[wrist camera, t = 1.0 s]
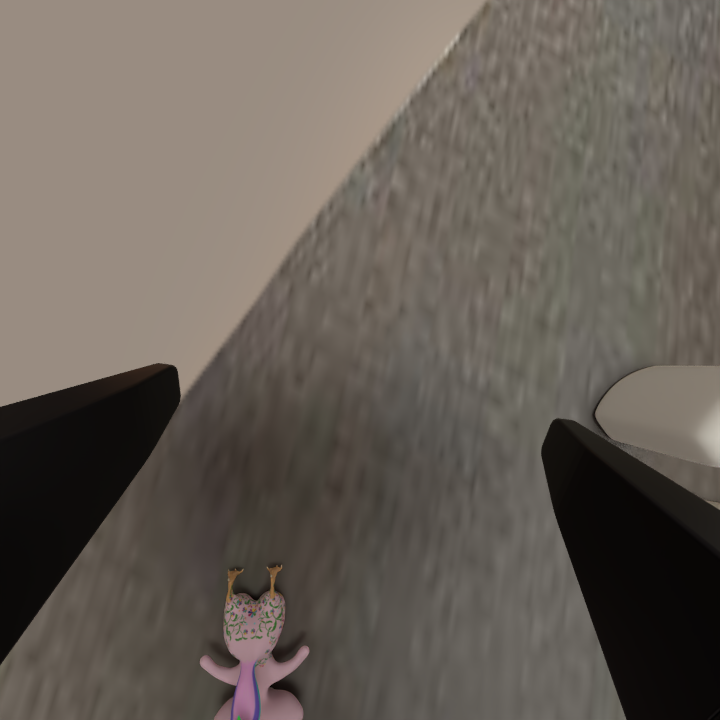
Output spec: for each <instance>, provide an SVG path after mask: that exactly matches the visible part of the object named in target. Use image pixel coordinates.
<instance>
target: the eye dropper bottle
mask: <svg viewBox="0 0 720 720" xmlns="http://www.w3.org/2000/svg"><path fill="white" fill-rule="evenodd" d="M595 417H596V419H597V421H598V423H599V424H600V425H601V427H602V428H603V430H604V431H605V432H606V434H607V435H608V436H609V437H610V438H611V439H613V440H615V441H618V442H622V443H625V444H629V445H632V446H636V447H640V448H643V449H647V450H651V451H654V452H658V453H661V454H665V455H669V456H673V457H676V458H680V459H684V460H687V461H691V462H695V463H699V464H703V465H707V466H713V467H720V366H652V367H648V368H644V369H641V370H638V371H636V372H634V373H632V374H630V375H628V376H626V377H624V378H623V379H621V380H620V381H619V382H617V383H616V384H615V385H614V386H613V387H612V388H611V389H610V390H609V391H608V392H607V393H606V395H605V396H604V397H603V399H602V400H601V402H600V403H599V405H598V407H597V409H596V412H595Z"/></svg>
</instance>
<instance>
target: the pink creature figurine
mask: <svg viewBox="0 0 720 720" xmlns="http://www.w3.org/2000/svg"><path fill="white" fill-rule="evenodd" d="M243 569H244V568H243ZM243 569H242V570H241V571H240V572H239V571H236V569H235V571H229V569H228V576H229V578H228V581H229V583H228V588H229V589H228V594H227V597H226V604H225V608H224V624H223V631H224V639H225V642H226V645H227V647H228V650H229V651H230V653H231V654H232V655H233V656H234V657H235V658H237V659H239V660H240V663H239V664H238V665H237V666H235V667H233V668H227V667H222V666H219V665H217V664H216V663H215V662H214V661H213V660H212V658H211V657H210V656H208V655H204V656H203V657H202V658H201V659H200V665H201V666H202V667H203V668H204V669H205V670H206V671H208V672H209V673H210V674H211V675H213V676H214V677H216V678H217V679H219V680H221V681H224V682H226V683H228V684H231V685H234V686H236V689H235V693H234V697H232V698H230V699H229V700H228V701H227V702H226V703H225V704H224V705H223V706H222V707H221V708H220V710H219V711H218V712H217V714H216V716H215V718H214V720H302V719H303V708H302V706H301V704H300V702H299V701H298V700H297V698H296V697H295V696H294V695H293V694H292V693H290V692H288V691H285V690H275V689H273V688H271V687H270V686H271V685H272V684H273V683H275V682H277V681H279V680H281V679H282V678H284V677H285V676H287V675H288V674H290V673H291V672H292V671H294V670H295V669H296V668H297V667H298V666H299V665H300V664H301V663H302V662H303V660H304V659H305V658H306V657H307V656H308V654H309V647H308V646H306V645H304V646H302V647H301V648H300V649H299V651H298V652H297V654H296V655H295V656H294V657H293V658H292V659H290V660H288V661H286V662H283V663H279V662H277V661H276V660H275V659H274V657H273V655H272V652H271V651H272V650H273V649H274V647H275V645H276V643H277V641H278V639H279V636H280V634H281V631H282V628H283V625H284V620H285V601H284V598H283V596H282V595H281V594H280V593H279V592H277V591H275V590H274V583H275V577H276V575H277V573H278V572H280V570H281V569H282V565H281V568H280V567H278V565H276V567H273V568H270V569H269V568H268V567H267V570H268V571H269V572H270V577H271V588H270V591H267V592H265V593H264V594H262V596H261V597H260V598H259V599H258V600H253V599H252V598H251V597H250V596H249V595H248V594H246V593H239V594H236V595H235V594H234V593H233V589H232V586H233V582H234V580H235V578H236V576H237V575H239V574H240V573H242V572H243Z"/></svg>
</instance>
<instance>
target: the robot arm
mask: <svg viewBox="0 0 720 720" xmlns="http://www.w3.org/2000/svg"><path fill="white" fill-rule="evenodd" d="M180 397H181V394H180V387H179V378H178V371H177V369H176V367H175V366H173V365H168V364H160V363H157V364H153V365H150V366H146V367H142V368H139V369H135V370H131V371H128V372H124V373H120V374H117V375H114V376H110V377H106V378H102V379H99V380H95V381H92V382H88V383H84V384H81V385H78V386H74V387H70V388H67V389H63V390H60V391H56V392H52V393H49V394H45V395H41V396H38V397H34V398H31V399H27V400H23V401H20V402H16V403H13V404H9V405H6V406H2V407H0V665H1V664H2V662H3V661H4V659H5V658H6V657H7V655H8V654H9V652H10V651H11V650H12V648H13V647H14V645H15V644H16V643H17V641H18V640H19V638H20V637H21V636H22V634H23V633H24V631H25V630H26V629H27V627H28V626H29V624H30V623H31V622H32V620H33V619H34V617H35V616H36V615H37V613H38V612H39V610H40V609H41V608H42V606H43V605H44V603H45V602H46V601H47V599H48V598H49V596H50V595H51V594H52V592H53V591H54V589H55V588H56V587H57V585H58V584H59V582H60V581H61V580H62V578H63V577H64V575H65V574H66V573H67V571H68V570H69V568H70V567H71V566H72V564H73V563H74V561H75V560H76V559H77V557H78V556H79V554H80V553H81V552H82V550H83V549H84V547H85V546H86V545H87V543H88V542H89V540H90V539H91V538H92V536H93V535H94V533H95V532H96V531H97V529H98V528H99V526H100V525H101V524H102V522H103V521H104V519H105V518H106V517H107V515H108V514H109V512H110V511H111V510H112V508H113V507H114V505H115V504H116V503H117V501H118V500H119V498H120V497H121V496H122V494H123V493H124V491H125V490H126V489H127V487H128V486H129V484H130V483H131V482H132V480H133V479H134V477H135V476H136V475H137V473H138V472H139V470H140V469H141V468H142V466H143V465H144V463H145V462H146V460H147V459H148V457H149V456H150V454H151V453H152V451H153V449H154V448H155V446H156V444H157V443H158V441H159V439H160V437H161V435H162V434H163V432H164V430H165V428H166V426H167V425H168V423H169V421H170V419H171V418H172V416H173V414H174V412H175V410H176V409H177V407H178V405H179V402H180ZM541 456H542V461H543V465H544V470H545V474H546V479H547V483H548V487H549V492H550V496H551V501H552V505H553V509H554V513H555V516H556V519H557V522H558V525H559V528H560V531H561V534H562V537H563V540H564V542H565V545H566V548H567V551H568V554H569V557H570V560H571V562H572V565H573V568H574V571H575V574H576V577H577V580H578V582H579V585H580V588H581V591H582V594H583V597H584V600H585V602H586V605H587V608H588V611H589V614H590V617H591V620H592V622H593V625H594V628H595V631H596V634H597V637H598V640H599V642H600V645H601V648H602V651H603V654H604V657H605V660H606V662H607V665H608V668H609V671H610V674H611V677H612V680H613V682H614V685H615V688H616V691H617V694H618V697H619V700H620V702H621V705H622V708H623V711H624V714H625V717H626V720H720V510H719V509H718V508H716V507H714V506H713V505H711V504H710V503H708V502H706V501H705V500H703V499H701V498H700V497H698V496H696V495H695V494H693V493H692V492H690V491H688V490H687V489H685V488H683V487H682V486H680V485H678V484H677V483H675V482H674V481H672V480H670V479H669V478H667V477H665V476H664V475H662V474H661V473H659V472H657V471H656V470H654V469H652V468H651V467H649V466H647V465H646V464H644V463H643V462H641V461H639V460H638V459H636V458H634V457H633V456H631V455H629V454H628V453H626V452H625V451H623V450H621V449H620V448H618V447H616V446H615V445H613V444H611V443H610V442H608V441H607V440H605V439H603V438H602V437H600V436H598V435H597V434H595V433H593V432H592V431H590V430H589V429H587V428H585V427H584V426H582V425H580V424H579V423H577V422H575V421H573V420H567V419H560V418H557V419H555V420H553V421H552V423H551V425H550V427H549V430H548V432H547V435H546V437H545V440H544V442H543V445H542V449H541Z"/></svg>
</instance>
